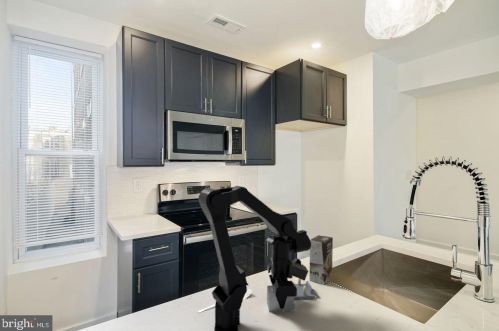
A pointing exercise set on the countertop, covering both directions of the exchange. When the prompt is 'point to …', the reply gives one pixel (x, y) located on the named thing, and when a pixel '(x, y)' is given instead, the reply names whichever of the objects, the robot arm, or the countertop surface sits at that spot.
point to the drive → (273, 302)
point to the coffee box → (321, 259)
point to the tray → (304, 290)
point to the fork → (214, 305)
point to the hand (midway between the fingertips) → (280, 304)
